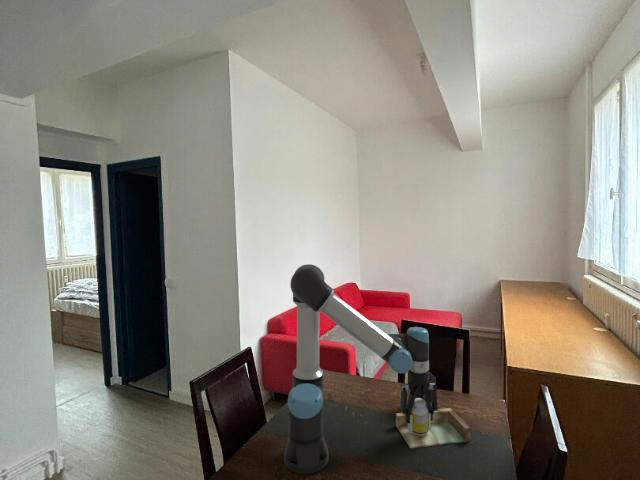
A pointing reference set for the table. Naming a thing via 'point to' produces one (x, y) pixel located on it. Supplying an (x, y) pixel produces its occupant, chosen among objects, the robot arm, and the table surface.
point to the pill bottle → (419, 417)
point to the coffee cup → (431, 379)
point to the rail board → (436, 430)
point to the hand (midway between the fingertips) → (419, 429)
